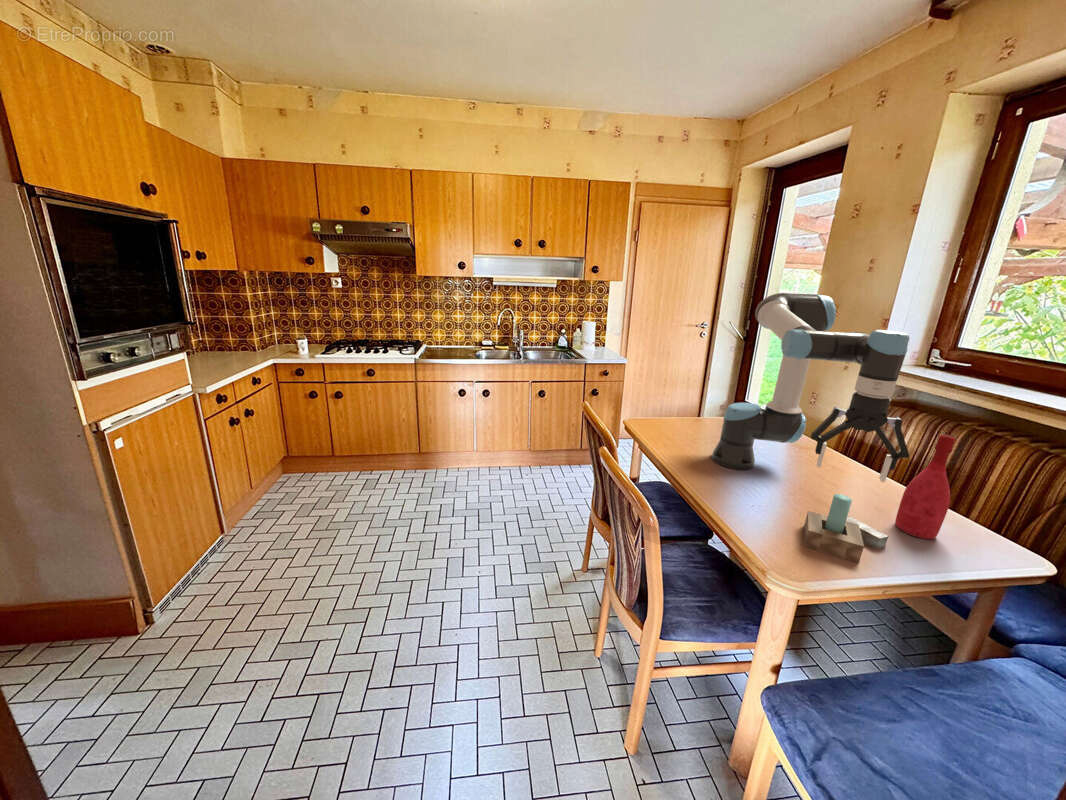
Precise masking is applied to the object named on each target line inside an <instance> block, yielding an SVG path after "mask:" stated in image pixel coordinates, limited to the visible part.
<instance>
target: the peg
mask: <svg viewBox="0 0 1066 800" xmlns="http://www.w3.org/2000/svg"><path fill="white" fill-rule="evenodd" d="M852 501H853V499H851V497H848V496H847V495H844V494H840V493H836V494H833V497H832V500H831V504H830V507H829V512H828V514H827V516H828V518H827V521H826V525H825V530H828V531H832V532H836V533H839V534H842V533H843V530H844V526H845V523H846V519H847V518H848V515H849V512H850V508H851V505H852Z"/></svg>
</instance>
